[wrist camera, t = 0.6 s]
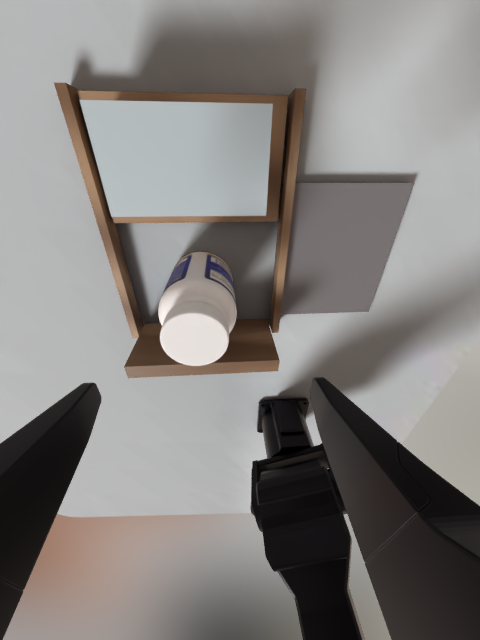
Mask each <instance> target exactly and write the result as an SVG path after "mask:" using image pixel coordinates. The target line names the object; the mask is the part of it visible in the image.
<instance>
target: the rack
mask: <svg viewBox="0 0 480 640" xmlns="http://www.w3.org/2000/svg"><path fill="white" fill-rule="evenodd" d="M54 84H55V88H56V91H57V94H58V97H59V101H60V104H61V107H62V110H63V113H64V117H65V120H66V123H67V126H68V130H69V133H70V136H71V139H72V143H73V146H74V149H75V152H76V156H77V159H78V162H79V165H80V169H81V172H82V175H83V178H84V182H85V185H86V188H87V191H88V195H89V198H90V201H91V204H92V208H93V211H94V214H95V217H96V221H97V224H98V227H99V230H100V234H101V237H102V240H103V243H104V247H105V250H106V253H107V256H108V259H109V263H110V266H111V269H112V272H113V276H114V279H115V282H116V285H117V289H118V292H119V295H120V298H121V302H122V305H123V308H124V311H125V315H126V318H127V321H128V324H129V328H130V331H131V334H132V337H133V338H138V340H137V342H136V344H135V346H134V348H133V350H132V352H131V354H130V356H129V358H128V360H127V362H126V364H125V366H124V368H125V371H126V373H127V376H128V378H138V377H160V376H181V375H203V374H224V373H246V372H267V371H278V367H279V357H278V354H277V351H276V347H275V344H274V341H273V337H272V334H271V331H270V328H269V324H268V321H267V319H259V320H236V322H235V325H234V327H233V329H232V331H231V332H230V334H229V344H228V347H227V350H226V351H225V353H224V354H223V356H221V357H220V358H219V359H218V360H216V361H215V362H212V363H210V364H207V365H202V366H190V365H185V364H182V363H179V362H177V361H175V360H174V359H172V358H171V357H170V356H168V355H167V354H166V352H165V351H164V350H163V348H162V345H161V342H160V332H161V328H162V325H161V323H145V325H144V327H143V324H142V321H141V317H140V313H139V309H138V306H137V302H136V298H135V294H134V291H133V287H132V283H131V280H130V276H129V272H128V268H127V265H126V261H125V257H124V254H123V250H122V246H121V242H120V239H119V235H118V231H117V228H116V224H115V223H185V222H277V221H278V209H279V197H280V185H281V173H282V162H283V150H284V138H285V126H286V114H287V103H288V95H249V94H204V93H159V92H114V91H80V90H78V89H76V88H74V87H72V86H70V85H69V84H67V83H54ZM305 94H306V89H297V88H296V89H295V90H294V91H293V92H292V93H291V94H290V95H289V106H288V117H287V129H286V140H285V152H284V163H283V175H282V186H281V198H280V209H279V221H278V232H277V244H276V255H275V267H274V278H273V290H272V301H271V313H270V327H271V330H272V333H278V331H279V322H280V313H281V305H282V296H283V287H284V278H285V269H286V261H287V252H288V243H289V234H290V226H291V217H292V208H293V199H294V191H295V182H296V173H297V164H298V156H299V147H300V138H301V129H302V121H303V112H304V103H305ZM80 100H111V101H161V102H211V103H261V104H273V110H272V127H271V143H270V160H269V177H268V194H267V211H266V216H161V217H111V213H110V210H109V206H108V202H107V199H106V195H105V191H104V188H103V184H102V180H101V177H100V173H99V170H98V166H97V162H96V159H95V155H94V151H93V148H92V144H91V140H90V137H89V133H88V129H87V126H86V122H85V118H84V115H83V111H82V107H81V104H80Z"/></svg>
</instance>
